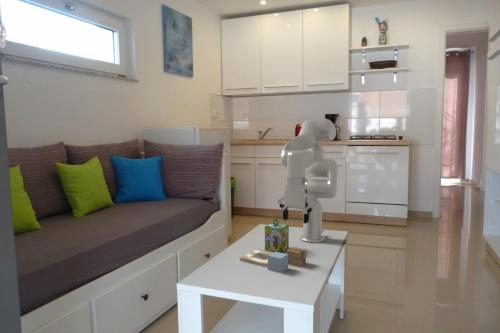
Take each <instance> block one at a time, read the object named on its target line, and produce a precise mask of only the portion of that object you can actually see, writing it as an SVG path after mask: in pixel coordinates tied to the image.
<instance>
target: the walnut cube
mask: <svg viewBox="0 0 500 333" xmlns="http://www.w3.org/2000/svg"><path fill="white" fill-rule="evenodd" d="M286 254H288V266H294V267H298V268H300V267H301V266H303V265H305V264H306V263H307V259H306V258H307V255H306V254H307V249H306V248H300V247H295V246H293V247H290V248H288V249H286Z"/></svg>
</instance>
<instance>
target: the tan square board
mask: <svg viewBox="0 0 500 333" xmlns="http://www.w3.org/2000/svg"><path fill="white" fill-rule="evenodd" d="M272 253H274V251H267V250H265V249H258V248H257V249H255V250H252V251H251V252H248V253H246V254H245V255H242V256H240V257H239V261H241V262H244V263H247V264H248V263H249V264H253V265H257V266H261V267H265V268H268V255H270V254H272Z"/></svg>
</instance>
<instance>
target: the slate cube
mask: <svg viewBox="0 0 500 333" xmlns="http://www.w3.org/2000/svg"><path fill="white" fill-rule="evenodd" d="M288 269H289V265H288V254H287V253H284V252H282V253H281V252H275V251H273V253H272V254H270V255H268V267H267V270H269V271H270V272H275V273H280V274H281V273H283V272H285V271H286V270H288Z"/></svg>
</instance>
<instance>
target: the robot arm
mask: <svg viewBox="0 0 500 333" xmlns="http://www.w3.org/2000/svg"><path fill="white" fill-rule="evenodd" d="M336 136H337V128H336V125H335V124H334V123H333V121H331V120H330V119H328V118H310V119H306V120H304V122H303V123H302V125H301V127H300V130H299V133H298V135H297V136H295V137H294V138H292V139H290V140H288V141H287V142H286V143H285V145H284V146H283V148H282V150H281V151H282V152H281V154H280V163H281V165H282V166H283V167H285V168H286V184H285V186H284V193H283V197H281V198H279V199H277V203H278V205H279V207H280V209H281V211H282V219H283V221H287V220H289V208H290V209H299V210H302V211H303V218H302V219H303V224H302V225H303V228H302V231H303V234H301V235H300V237H299V239H300V240H301V241H303V242H306V243H313V244H315V243H322V242H324V241H325V239H326V237H325V236H324V235H322V234H323V233H324V231H325V229H323V206H322V204H321V201H320V200H319V199H326V200H327V199H329V200H330V199H335V197H336V195H337V190H338V163H337V161H336V160H335V159H333V158H324V155H325V154H324V153H325V152H324V151H325V150H324V148H323V146H322V145H321V144H320V143H319V141H320V142H321V141H324V142H325V141H326V142H327V141H333V140H335V138H336ZM306 175H307V176H309V177H312V178H311V179H310V178H309V179H307V178H306ZM314 178H315V179H314ZM316 178H317V179H316ZM318 178H326V179H318Z"/></svg>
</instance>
